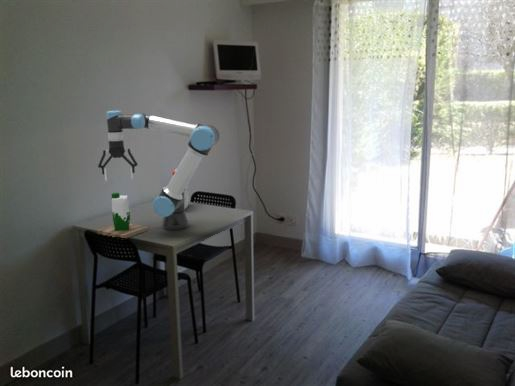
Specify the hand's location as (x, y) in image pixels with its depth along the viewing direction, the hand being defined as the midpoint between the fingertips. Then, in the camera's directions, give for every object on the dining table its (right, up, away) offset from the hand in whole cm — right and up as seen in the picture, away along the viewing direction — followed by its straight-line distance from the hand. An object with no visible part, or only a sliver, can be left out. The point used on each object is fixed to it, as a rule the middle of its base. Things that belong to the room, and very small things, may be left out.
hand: (119, 179), depth 242 cm
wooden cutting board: (0, -29, +6) cm, 30 cm away
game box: (+25, -18, +56) cm, 64 cm away
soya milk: (0, -27, +6) cm, 28 cm away
